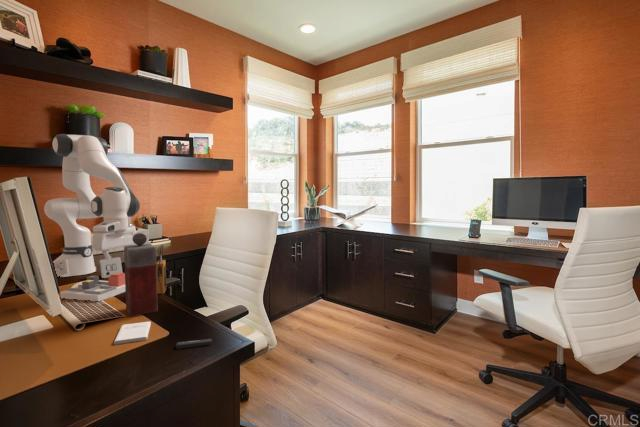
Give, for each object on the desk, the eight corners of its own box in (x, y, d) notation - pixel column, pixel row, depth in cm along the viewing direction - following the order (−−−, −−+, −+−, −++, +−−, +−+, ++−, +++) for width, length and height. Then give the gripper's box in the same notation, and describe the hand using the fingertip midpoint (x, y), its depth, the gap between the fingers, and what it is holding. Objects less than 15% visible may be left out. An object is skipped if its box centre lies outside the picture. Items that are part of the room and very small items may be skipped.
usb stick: (212, 342, 96) (212, 337, 96) (212, 346, 93) (212, 341, 93) (176, 346, 93) (176, 341, 93) (175, 350, 91) (175, 345, 90)
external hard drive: (114, 346, 93) (121, 329, 105) (147, 342, 96) (151, 325, 108) (113, 341, 93) (121, 324, 105) (146, 336, 96) (150, 320, 108)
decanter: (151, 302, 128) (149, 230, 126) (157, 311, 119) (155, 233, 117) (125, 307, 123) (122, 231, 121) (129, 316, 114) (126, 235, 112)
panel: (60, 298, 132) (60, 289, 132) (99, 285, 150) (99, 278, 150) (98, 301, 128) (97, 292, 128) (133, 288, 146) (133, 280, 146)
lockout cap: (108, 286, 141) (108, 274, 141) (118, 282, 146) (117, 272, 145) (118, 286, 140) (118, 275, 140) (127, 283, 145) (127, 272, 144)
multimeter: (142, 288, 146) (141, 243, 145) (167, 286, 149) (166, 242, 148) (135, 299, 132) (133, 249, 131) (163, 296, 135) (161, 248, 134)
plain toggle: (86, 285, 142) (86, 277, 141) (92, 283, 144) (92, 275, 144) (92, 285, 141) (92, 277, 141) (99, 283, 144) (98, 275, 144)
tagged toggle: (82, 290, 134) (82, 281, 134) (89, 288, 137) (88, 279, 137) (89, 291, 133) (88, 282, 133) (95, 288, 136) (95, 280, 136)
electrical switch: (102, 279, 161) (100, 260, 161) (98, 278, 165) (97, 259, 164) (123, 275, 169) (121, 257, 169) (119, 274, 172) (117, 256, 172)
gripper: (128, 223, 152) (130, 253, 153) (88, 227, 132) (90, 262, 133) (140, 223, 150) (141, 253, 151) (102, 228, 131) (103, 262, 131)
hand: (117, 257), depth 142 cm, fingers open, 8 cm apart
